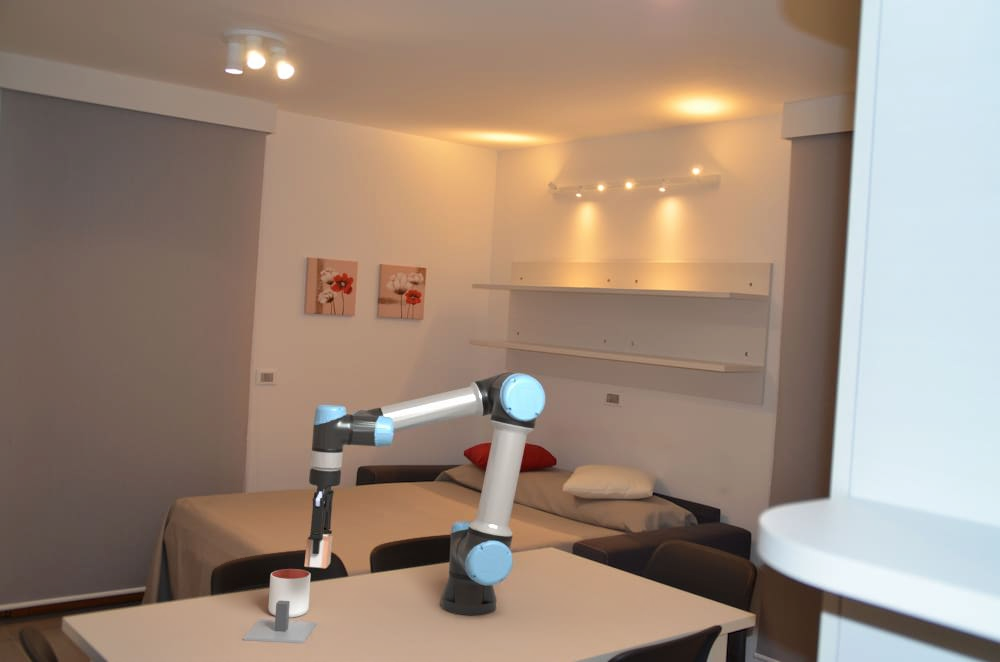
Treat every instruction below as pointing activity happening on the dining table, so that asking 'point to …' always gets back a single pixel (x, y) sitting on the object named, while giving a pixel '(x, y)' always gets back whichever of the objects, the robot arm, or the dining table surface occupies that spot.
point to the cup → (290, 590)
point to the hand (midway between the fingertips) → (317, 563)
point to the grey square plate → (281, 627)
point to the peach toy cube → (325, 554)
